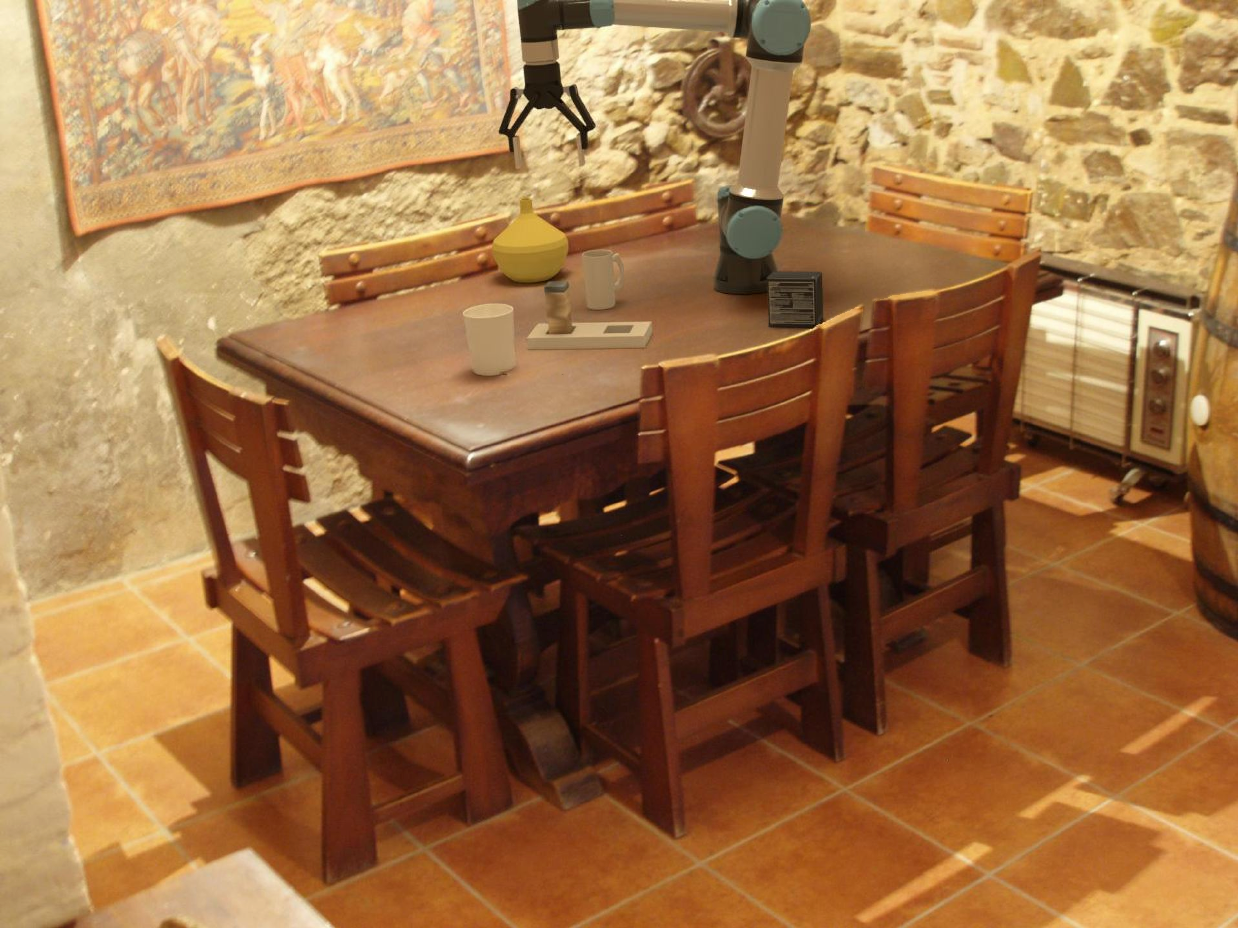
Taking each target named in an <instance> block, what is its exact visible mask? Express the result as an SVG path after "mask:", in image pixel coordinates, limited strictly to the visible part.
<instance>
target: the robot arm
mask: <svg viewBox="0 0 1238 928" xmlns="http://www.w3.org/2000/svg"><path fill="white" fill-rule="evenodd" d="M516 2H517V9H516V10H517V16H518V26H519V36H520V47H521V58H522V59H521V60H522V62H523V63H524V65H523V66H522V69H523V79H524V88H518V87H516V86H515V87H512V88H511V89H510V90H509V102H508V104H507V106H506V110H505V113H504V115H503V118H502V120H501V123H500V126H499V127H498V128H499V129H498V134H499V135H503V136H506V137H507V139H508V150H509V152H510V153H513V154H514V155H513V156H514V163H515V165H514V166H515V170H519V169H521V168H522V167H523V160H522V159H523V158H522V150H521V149H522V148H521V137H520V135H519V134H517V133H518V131H519V129H520V127H522V125H523V124H524V122H525V121H526V119H527V118H528V116H529V115H530V113H531V112H532V110H534V109H536V110H543V109H545V110H546V109H547V110H552V109H554V108H555V109H556V110H558V111H559V112H560V113H561V114H562V115H563V116H564V117H565V119H567V121H569V123H570V124H572V125H571V126H573V127H574V129H576V131H578V133H577V134H576V146H577V158H578V167H583V166H585V165H586V159H585V158H586V156H585V150H587V149H588V148H589V136H588V135H589V134H588V133H589V132H591V131H593V130H594V129H595V128H596V127H597V125H596V123H595V120H594V119H593V117H592V115H591V114H590V112H589V110H588V109H587V107H586V104H584V102H583V100H582V97H580V94H579V90H578V86H577V84H576V83H573V84H571V85H566V86H564V85H563V83H562V76H561V63H560V62H559V61H557V60H559V58H560V54H559V53H560V51H559V39H558V31H566V30H580V29H581V30H582V29H583V30H584V29H594V28H596V29H600V28H605V27H612V26H613V25H615V26H626V27H627V26H628V27H629V26H630V27H641V28H643V27H644V28H657V29H673V30H674V29H675V30H689V31H700V32H701V31H703V32H718V33H725V34H727V35H728V36H729V37H730V38H733V39H745V40H747V44H746V50H745V51H746V52H745V58H746V60H747V61H748V63H749V64H750V65H751V69H750V70H751V72H750V77H749V78H750V79H749V88H748V93H747V102H746V103H747V104H746V109H745V110H746V111H745V118H744V128H743V134H742V135H743V136H742V143H741V144H742V145H741V153H740V160H739V166H738V175H737V182H736V183H735V184H730V185H724V186H721V187H719V188H718V190H717V198H716V203H717V212H718V213H717V215H718V238H719V241H718V242H719V257H718V260H717V264H716V268H715V271H714V274H713V289H715V290H716V291H718V292H720V293H725V294H731V295H749V294H750V295H754V294H760V293H761V294H762V293H765V292H767V277H768V276H769V275H770V274H771V273H772V272H773V271H780V270H779V268H778V265H777V262H776V260H775V257H774V254H773V252H774V251H775V250H776V249H777V248H778V247H779V245H780V243H781V241H782V236H783V233H784V231H783V230H784V229H783V224H782V223H783V222H782V220H781V219H782V210H783V203H784V197H785V196H784V193H783V192H782V191H781V189H780V188H779V181H780V172H781V165H782V158H783V150H784V145H785V144H784V142H785V136H786V128H787V120H788V114H789V105H790V98H791V90H792V89H791V88H792V85H793V83H792V82H793V76H794V71H796V69H797V68H799V67H800V66H801V65H802V64H803V57H804V51H805V44H806V43H807V40H808V38H809V36H810V34H811V29H812V28H811V27H812V19H811V15H810V12H809V9H808V7H807V5H806V4H805V2H804V1H803V0H516ZM564 93H565V94H566V95H567V96H568V97H570V98H571V99H570V100H571V101H572V103H573V105H574V107H575V108H576V110H577V112H578V113H579V115H580V117H581V119H582V120H581V119H580V117H578V116H577V115H576V114H575V112H573V110H571V108H569V106H568V105H567V103H566V102H565V101H564V100H563V99H562V96H563V95H564ZM522 96H524V97H525V98H526V100H527V101H528V102H527V103H526V105H525V106H524V108H523V109H522V111H521V112H520V114H519V115H518V117H517V118H516V120H515V121H514V123H513V124H512V126H511V127H510V128H509V126H510V123H511V121H512V118H513V115H514V113H515V110H516V106H517V105H518V101H519V99H521V97H522ZM583 122H584V123H583ZM516 134H517V135H516Z"/></svg>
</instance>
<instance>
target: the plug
mask: <svg viewBox="0 0 1238 928" xmlns="http://www.w3.org/2000/svg"><path fill="white" fill-rule="evenodd" d="M569 284H570V283H569V280H567V281H566V280H562V281H548V282H547V283H546V284H545V285H544V295H545V296H544V297H545V306H546V317H547V318H546V319H547V323H548V329H549V334H572V323H573V322H572V310H571V299H570V289H569V287H570V285H569Z"/></svg>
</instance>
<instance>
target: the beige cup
mask: <svg viewBox="0 0 1238 928" xmlns="http://www.w3.org/2000/svg"><path fill="white" fill-rule="evenodd" d="M462 317H463V321H464V327H465V332H466V338H467V339H466V340H467V344H468V349H469V355H470V360H471V367H472V371H473V373H474V374H476V375H477V376H484V377H494V376H502V375H503V373H504V372H507V371H510V370H512V369H514V368H515V367H516V350H515V349H516V347H515V327H514V326H515V325H514V323H515V322H514V307H513V306H512V305H509V304H507V303H506V304H505V303H484V304H480V305H479V304H478V305H475V306H471V307H469V308H466V309H465V310H463V312H462Z"/></svg>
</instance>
